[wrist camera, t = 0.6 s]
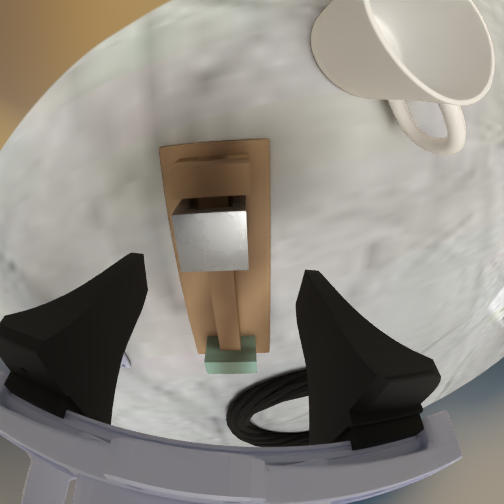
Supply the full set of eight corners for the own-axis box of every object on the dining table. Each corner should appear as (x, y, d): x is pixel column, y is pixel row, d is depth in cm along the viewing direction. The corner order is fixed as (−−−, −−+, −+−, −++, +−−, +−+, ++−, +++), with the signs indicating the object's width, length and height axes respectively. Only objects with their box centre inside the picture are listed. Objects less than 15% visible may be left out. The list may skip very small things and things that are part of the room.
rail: (199, 349, 29) (195, 378, 26) (161, 146, 18) (142, 156, 15) (268, 348, 29) (271, 377, 26) (268, 138, 18) (274, 146, 15)
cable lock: (192, 432, 36) (348, 344, 25) (194, 413, 39) (338, 319, 28) (304, 456, 45) (429, 393, 34) (302, 442, 48) (422, 377, 37)
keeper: (192, 239, 21) (181, 272, 17) (186, 191, 19) (171, 215, 15) (247, 237, 21) (248, 269, 17) (245, 188, 19) (246, 210, 15)
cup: (377, 0, 12) (450, -39, 3) (431, 126, 17) (519, 154, 9) (288, 19, 14) (325, -45, 5) (355, 156, 19) (431, 200, 10)
